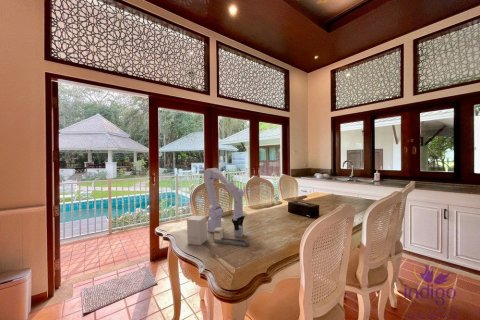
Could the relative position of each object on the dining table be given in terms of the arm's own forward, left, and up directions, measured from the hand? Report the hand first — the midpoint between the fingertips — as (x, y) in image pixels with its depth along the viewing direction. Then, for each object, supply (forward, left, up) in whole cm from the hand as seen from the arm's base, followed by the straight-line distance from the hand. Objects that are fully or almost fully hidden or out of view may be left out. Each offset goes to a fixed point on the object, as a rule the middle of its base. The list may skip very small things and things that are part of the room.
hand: (238, 228), depth 137 cm
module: (0, 0, -5) cm, 5 cm away
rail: (-1, -13, -5) cm, 14 cm away
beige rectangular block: (-9, -13, -3) cm, 16 cm away
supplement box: (-21, -17, -5) cm, 28 cm away
